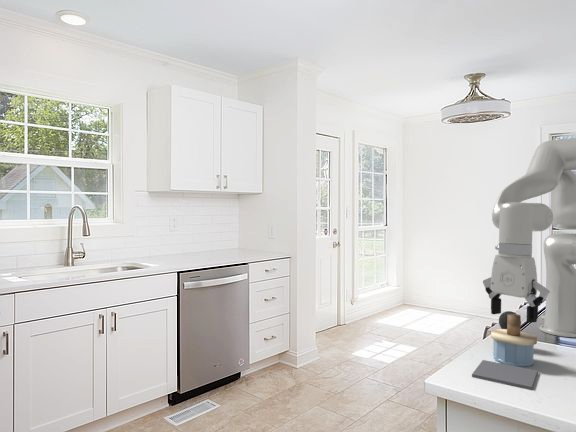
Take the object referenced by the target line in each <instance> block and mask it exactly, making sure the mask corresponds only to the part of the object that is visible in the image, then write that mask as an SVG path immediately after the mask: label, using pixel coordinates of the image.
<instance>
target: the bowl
mask: <svg viewBox="0 0 576 432" xmlns="http://www.w3.org/2000/svg"><path fill="white" fill-rule="evenodd" d="M492 349H493V352H492V353H493V355H492V356H493V360H494V359H495V362H497V361H498V362H497V363H499V362H500V363H501V364H507V365H512V366H517V367H522V368H529V367H532V366H533V365H534V353H535V352H534V351H535V350H534V349H535V345H529V346H522V345H512V344H507V343H502V342H499V341H496V340H494V339H493V348H492ZM528 366H529V367H528Z"/></svg>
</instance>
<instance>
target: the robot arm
mask: <svg viewBox="0 0 576 432" xmlns="http://www.w3.org/2000/svg"><path fill="white" fill-rule="evenodd" d="M574 171H576V137H573V138H572V137H570V138H562V139H561V138H560V139H551V140H547V141H544V142H541V143H540V144H539V145H537V147H536V149H535V151H534V154H533V156H532V158H531V160H530V163H529V166H528V168H527V171H526V173H525V174H524V175H522V176H521V177H519V178H517V179H516V180H514V181H512V182H511V183H510V184H508V185H507V186H505V187H504V189H503V190H502V191H501V192H500V193H499V195H498V196H497V199H496V202H495V204H494V207H493V209H492V213H491V214H492V215H491V218H492V219H491V221H492V224H493V225H494V227H495V228H497V229H498V230H499V231H498V244H496V245H495V246H494V249H495V250H496V251H497V252H498V254H496V255H495V256H494V260H493V263H492V269H491V276H490V277H488V278H485V279H484V280H483V281H482V283H483V286H484V288H485V292H486V293H487V294H488V298H489V299H490V312H491V313H490V314H491V315H499V314H500V315H501V314H502V298H501V296H502V295H504V296H510V297H515V298H519V299H520V298H521V299H522V298H524V299H525V301H526V302H527V304H528V305H527V306H526V323H527V324H528V323H529V324H532V323H537V320H538V319H539V307H540V306H541V305H542V304H543V303H544V302H545V314H544V315H543V314H541V316H540V319H541V320H543V323H542V324H540V325H539V330H540V331H542V332H543V333H546V334H549V335H554V336H558V337H564V338H565V337H566V338H576V268H575V266H576V233H567V232H566V233H563V232H562V233H561V232H560V233H552V234H550V235H548V236H546V237H545V238H544V241H543V253H544V260H545V269H546V271H545V275H546V277H545V281H546V282H545V286H543V285H542V284H541V283H539V282H538V276H537V275H538V274H537V265H536V260H535V257H533V255H532V253H533V232H543V231H545V230H547V229H549V228H550V227H551V225H552V226H553V227H554V228H556V229H561V230H576V173H575V172H574ZM548 193H550V206H549V205H547V204H545V203H540V202H524V201H527V200H530V199H533V198H536V197H540V196H542V195H545V194H548ZM574 265H575V266H574ZM538 292H539V295H538V296H537V293H538Z"/></svg>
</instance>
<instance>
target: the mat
mask: <svg viewBox="0 0 576 432" xmlns="http://www.w3.org/2000/svg"><path fill="white" fill-rule="evenodd" d="M537 375H538V370H536V369H531V368H528V367H517V366H512V365H507V364H502V363H499V362H497V361H492V360H491V361H490V360H486V359H482V360H481V361H480V363H479V365H477V367H476V369H475V370H474V371H473V373H471V377H472V378H476V379H480V380H486V381H489V382H494V383H499V384H503V385H508V386H512V387H518V388H522V389H527V390H530V391H531V390H533V387H534V384H535V382H536V378H537Z"/></svg>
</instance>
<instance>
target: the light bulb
mask: <svg viewBox="0 0 576 432" xmlns="http://www.w3.org/2000/svg"><path fill="white" fill-rule="evenodd" d="M507 314H517V313H516V312H514V311H512V310H510V311H509V310H508V311H504V312H501V313H500V316H499V318H498V323H499V327H500V329H507ZM521 326H522V320H521V321H520V327H521Z"/></svg>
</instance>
